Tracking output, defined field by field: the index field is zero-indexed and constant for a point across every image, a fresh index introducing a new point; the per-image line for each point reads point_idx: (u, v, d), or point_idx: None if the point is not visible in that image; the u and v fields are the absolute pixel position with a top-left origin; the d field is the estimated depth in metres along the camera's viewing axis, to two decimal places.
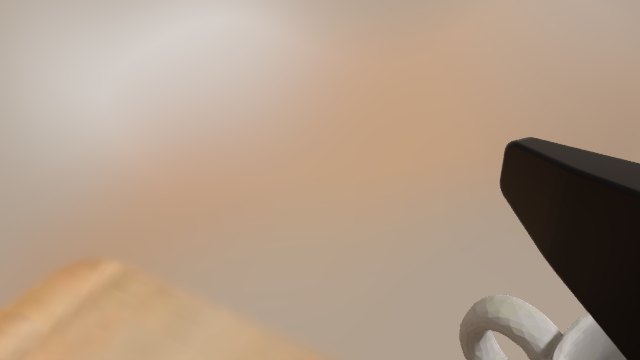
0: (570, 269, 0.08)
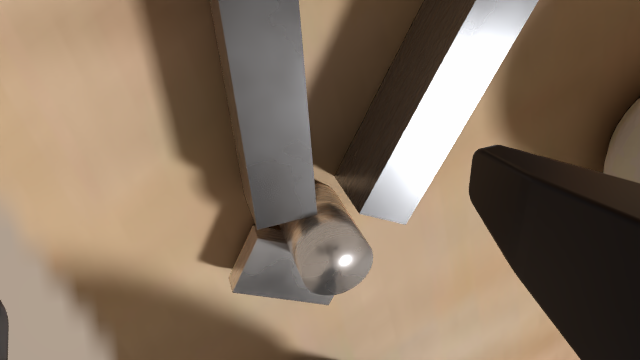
0: (536, 280, 0.08)
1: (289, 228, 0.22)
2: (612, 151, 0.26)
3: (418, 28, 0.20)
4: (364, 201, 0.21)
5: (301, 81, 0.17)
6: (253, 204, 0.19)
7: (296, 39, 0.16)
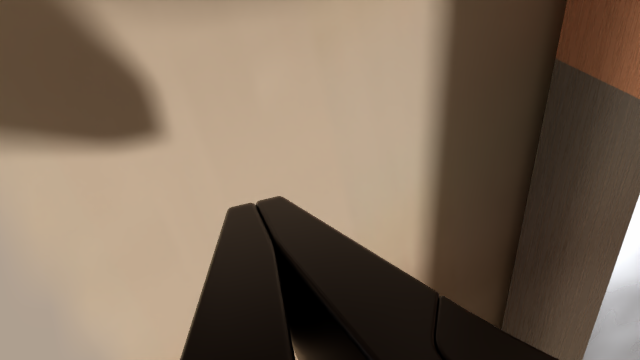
0: (300, 353, 0.07)
1: None
2: None
3: None
4: None
5: None
6: None
7: None
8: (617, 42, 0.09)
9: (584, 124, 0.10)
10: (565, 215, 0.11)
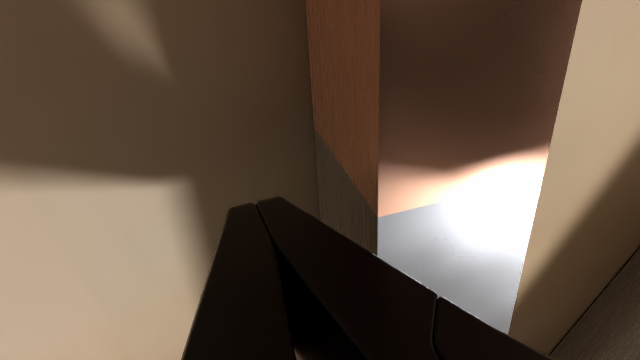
0: (299, 353, 0.07)
1: None
2: None
3: (595, 334, 0.15)
4: None
5: None
6: None
7: None
8: (340, 121, 0.07)
9: (338, 209, 0.08)
10: None
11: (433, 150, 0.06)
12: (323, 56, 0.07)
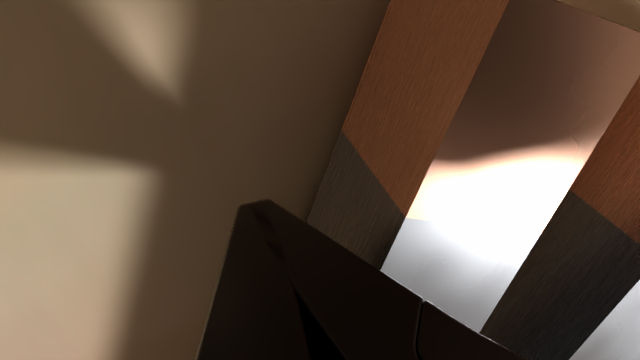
0: None
1: None
2: None
3: None
4: None
5: None
6: None
7: None
8: (387, 125, 0.07)
9: (342, 211, 0.08)
10: None
11: (475, 173, 0.07)
12: (389, 65, 0.08)
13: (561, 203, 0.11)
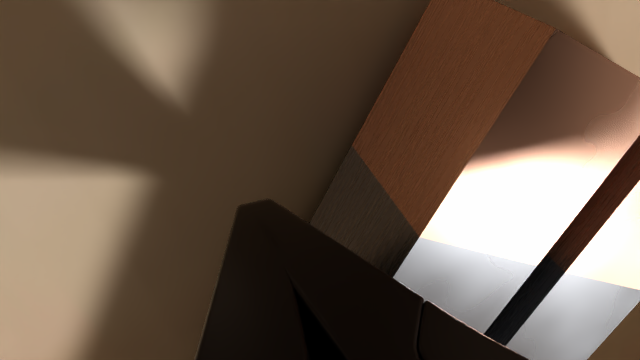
0: None
1: None
2: None
3: None
4: None
5: None
6: None
7: None
8: (405, 146, 0.08)
9: (348, 224, 0.09)
10: None
11: (489, 200, 0.07)
12: (411, 88, 0.08)
13: None
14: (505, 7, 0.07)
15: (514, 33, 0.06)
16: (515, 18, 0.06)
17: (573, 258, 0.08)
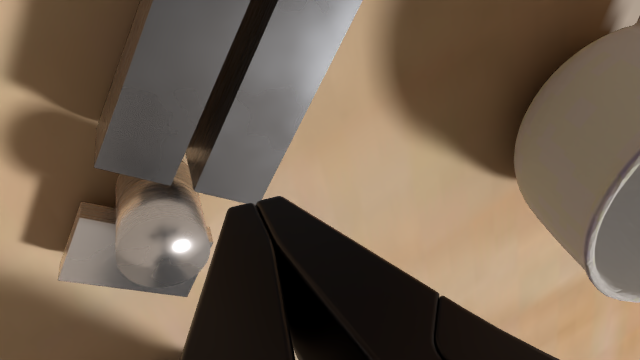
0: (300, 352, 0.07)
1: (117, 207, 0.18)
2: (521, 130, 0.22)
3: None
4: (199, 176, 0.17)
5: (233, 28, 0.15)
6: (106, 135, 0.15)
7: None
8: None
9: None
10: None
11: None
12: None
13: None
14: None
15: None
16: None
17: None
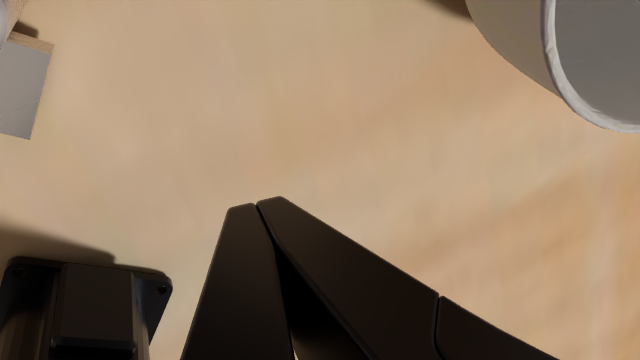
0: (300, 353, 0.07)
1: None
2: None
3: None
4: None
5: None
6: None
7: None
8: None
9: None
10: None
11: None
12: None
13: None
14: None
15: None
16: None
17: None
